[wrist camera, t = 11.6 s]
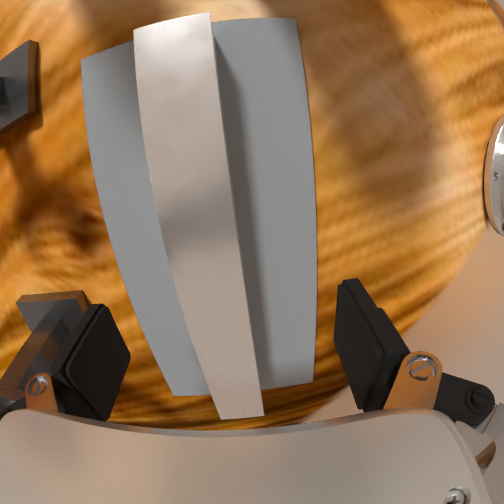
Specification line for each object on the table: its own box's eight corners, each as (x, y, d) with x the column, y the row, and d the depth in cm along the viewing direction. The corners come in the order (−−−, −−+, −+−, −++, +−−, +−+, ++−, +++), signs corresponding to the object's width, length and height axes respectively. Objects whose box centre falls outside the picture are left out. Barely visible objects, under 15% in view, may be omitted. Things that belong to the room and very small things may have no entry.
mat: (292, 22, 12) (295, 17, 11) (310, 375, 24) (312, 381, 23) (86, 62, 12) (80, 59, 11) (175, 389, 23) (174, 395, 23)
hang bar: (214, 36, 11) (209, 12, 8) (260, 383, 22) (264, 415, 19) (153, 48, 11) (133, 29, 8) (221, 387, 22) (221, 419, 19)
